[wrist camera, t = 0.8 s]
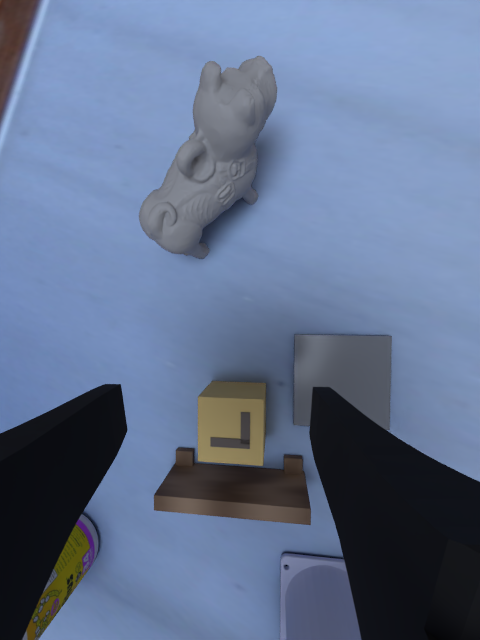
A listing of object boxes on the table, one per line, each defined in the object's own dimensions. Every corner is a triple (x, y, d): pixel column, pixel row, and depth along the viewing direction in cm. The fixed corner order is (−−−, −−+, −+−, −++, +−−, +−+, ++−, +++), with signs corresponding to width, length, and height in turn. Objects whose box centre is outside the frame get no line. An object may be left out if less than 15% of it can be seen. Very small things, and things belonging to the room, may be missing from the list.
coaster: (386, 427, 25) (389, 430, 24) (293, 422, 26) (293, 425, 25) (388, 335, 25) (391, 336, 24) (294, 334, 26) (294, 334, 25)
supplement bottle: (76, 582, 29) (-78, 793, 16) (29, 537, 30) (-155, 708, 17) (114, 537, 29) (-15, 720, 16) (66, 491, 29) (-98, 633, 16)
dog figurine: (290, 162, 25) (302, 56, 15) (197, 273, 27) (146, 248, 16) (245, 125, 26) (226, -5, 15) (155, 236, 27) (79, 188, 16)
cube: (265, 436, 26) (263, 466, 21) (212, 433, 27) (197, 461, 22) (265, 382, 26) (263, 400, 21) (212, 380, 27) (197, 397, 22)
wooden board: (304, 455, 26) (311, 490, 21) (303, 499, 26) (310, 543, 21) (175, 447, 27) (153, 477, 22) (176, 488, 28) (154, 527, 23)
